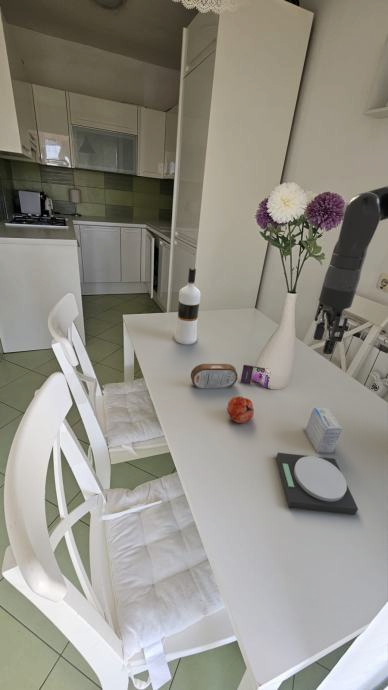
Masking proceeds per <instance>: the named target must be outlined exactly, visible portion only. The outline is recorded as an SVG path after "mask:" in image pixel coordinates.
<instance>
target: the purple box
mask: <svg viewBox="0 0 388 690" xmlns="http://www.w3.org/2000/svg"><path fill="white" fill-rule="evenodd" d="M254 369H255V370H256V372H254ZM253 372H254V373H253ZM261 373H262V374H261ZM263 373H265V374H263ZM266 373H267V374H269V371H268V370H267V371H266V370H265V367H260V366H255V365H249V364H243V365H242V371H241V375H240V376H241V377H240V384H245V385H246V384H247V385H251V382H252V381H253V382H255V383H260V382H262V381H263V380H264V382H263V384H262V385H261V387H262V388H267V389H268V386H269V382H270V379H269V380H268V375H266ZM262 375H263V376H262ZM264 376H265V377H264ZM262 378H263V379H262Z"/></svg>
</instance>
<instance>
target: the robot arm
mask: <svg viewBox="0 0 388 690" xmlns="http://www.w3.org/2000/svg"><path fill="white" fill-rule="evenodd" d="M385 220H388V185H386V186H382V187H379V188H375V189H371V190H368V191H365V192H361V193H358V194H355V195H354V196H352V197H351V198H350V199H348V200H347V202H346V203H345V205H344V207H343V210H342V223H341V227H340V230H339V235H338V238H337V241H336V242H335V244H334V247H333V250H332V253H331V257H330V261H329V264H328V268H327V270H326V272H325V274H324V279H323V282H322V286H321V289H320V294H319V297H318V306H317V309H316V313H315V315H314V322H315V330H314V333H313V337H312V338H313V339H314V341H322V340H323V337H324V335H325V332H326V338H325V342H324V345H323V348H322V353H323V354H324V355H332V354H333V353H334V350H335V346H336V343H337V342H338V343H342V341H343V337H344V334H345V332H346V328H347V324H348V320H349V319H348V317H343V313H344V312H343V311H344V310H347V309H350V308H351V307H352V306H353V305H352V304H353V302H354V299H355V295H356V292H357V290H358V286H359V283H360V281H361V275H362V269H363V266H364V264H365V261H366V258H367V254H368V249H369V246H370V244H371V242H372V239H373V238H374V236H375V233H376V231H377V229H378V226H379V224H380V222H381V221H385Z"/></svg>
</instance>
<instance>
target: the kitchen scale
mask: <svg viewBox="0 0 388 690" xmlns="http://www.w3.org/2000/svg"><path fill="white" fill-rule="evenodd" d="M275 461H276V465H277V469H278V473H279V477H280V481H281V484H282V488H283V489H282V490H283V492H284V497H285V500H286V505H287V508H288V509H296V510H304V511H312V512H313V511H314V512H323V513H333V514H341V515H350V516H351V515H352V516H355V515H356V514H357V512H358V511H359V508H358V506H357V503H356V501H355V498H354V497H353V495H352V493H351V490H350V488H349V486H348V484H347V480H346V478H345V476H344V475H343V473H342V471H341V469H340V466H339V465H338V463H337V460H336V458H332V457H331V458H330V457H323V456H315V455H314V456H313V455H306V454H305V455H304V454H296V453H295V454H294V453H286V452H277V453H276V457H275Z"/></svg>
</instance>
